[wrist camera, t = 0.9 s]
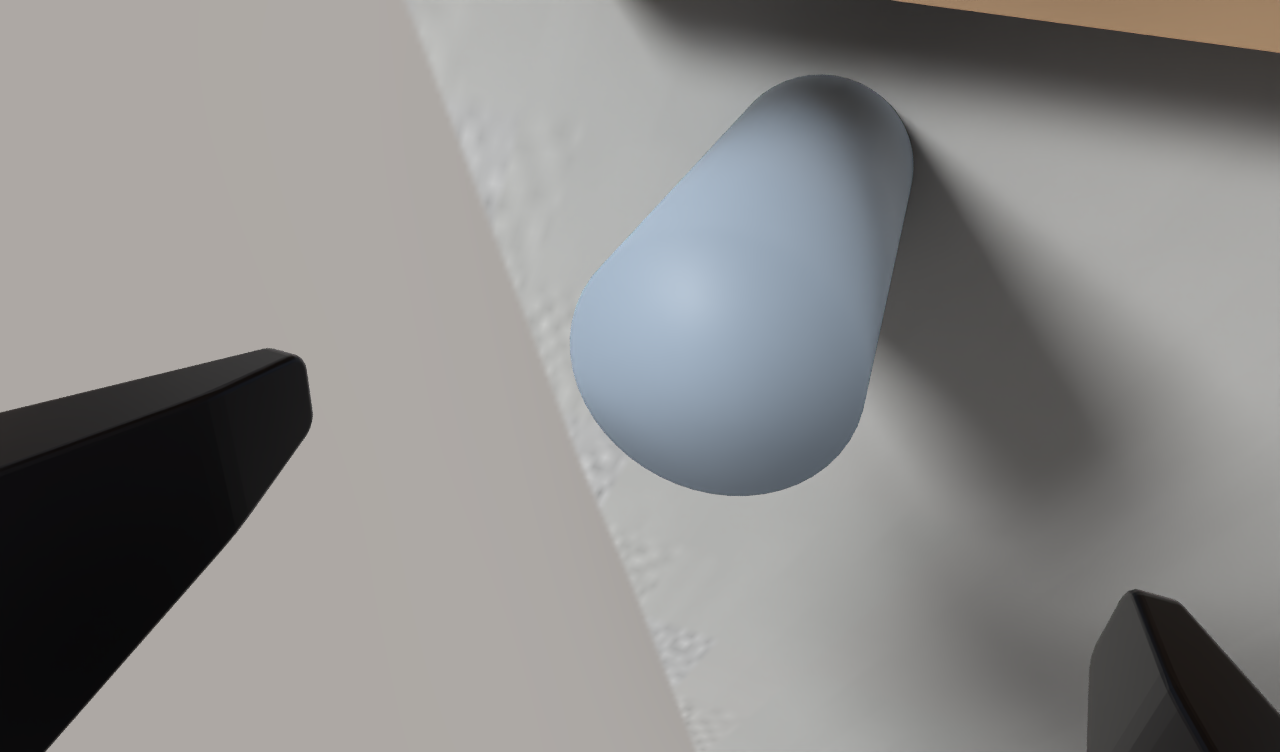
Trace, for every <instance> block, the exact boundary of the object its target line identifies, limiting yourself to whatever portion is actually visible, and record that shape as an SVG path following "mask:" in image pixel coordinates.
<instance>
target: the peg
mask: <svg viewBox="0 0 1280 752" xmlns="http://www.w3.org/2000/svg"><path fill="white" fill-rule="evenodd" d="M913 167H914V162H913V151H912V147H911V143H910V139H909V136H908V134H907V131H906V129H905V126H904V125H903V123H902V121H901V119H900V118H899V116H898V115H897V113H896V112H895V111H894V109H893V108H892V107H891V106H890V105H889V104H888V103H887V102H886V101H885V100H884V99H883V98H882V97H881V96H880V95H878V94H877V93H876V92H874V91H873V90H872V89H870V88H868V87H866V86H864V85H862V84H861V83H858V82H856V81H853V80H850V79H847V78H843V77H839V76H832V75H808V76H802V77H797V78H794V79H791V80H788V81H785V82H783V83H781V84H778V85H776V86H774V87H772V88H771V89H769V90H768V91H766V92H765V93H763V94H762V95H761V96H760V97H759V98H757V99H756V100H755V101H754V102H753V103H752V104H751V105H750V106H749V107H748V108H747V109H746V111H745V112H744V113H743V114H742V115H741V116H740V117H739V118H738V119H737V120H736V121H735V122H734V123H733V125H732V126H731V127H730V128H729V129H728V130H727V131H726V132H725V133H724V134H723V135H722V136H721V137H720V139H719V140H718V141H717V142H716V143H715V144H714V145H713V146H712V147H711V148H710V149H709V150H708V151H707V152H706V154H705V155H704V156H703V157H702V158H701V159H700V160H699V161H698V162H697V163H696V164H695V165H694V166H693V168H692V169H691V170H690V171H689V172H688V173H687V174H686V175H685V176H684V177H683V178H682V179H681V180H680V182H679V183H678V184H677V185H676V186H675V187H674V188H673V189H672V190H671V191H670V192H669V193H668V194H667V196H666V197H665V198H664V199H663V200H662V201H661V202H660V203H659V204H658V205H657V206H656V207H655V208H654V210H653V211H652V212H651V213H650V214H649V215H648V216H647V217H646V218H645V219H644V220H643V221H642V222H641V224H640V225H639V226H638V227H637V228H636V229H635V230H634V231H633V232H632V233H631V234H630V235H629V236H628V237H627V239H626V240H625V241H624V242H623V243H622V244H621V245H620V246H619V247H618V248H617V249H616V250H615V251H614V253H613V254H612V255H611V256H610V257H609V258H608V259H607V260H606V261H605V262H604V263H603V264H602V266H601V267H600V268H599V269H598V270H597V271H596V272H595V273H594V275H593V276H592V277H591V279H590V280H589V282H588V283H587V285H586V286H585V288H584V290H583V291H582V294H581V296H580V298H579V301H578V303H577V305H576V308H575V312H574V316H573V320H572V325H571V334H570V355H571V361H572V367H573V372H574V376H575V379H576V382H577V386H578V389H579V391H580V393H581V395H582V398H583V400H584V402H585V404H586V406H587V408H588V409H589V411H590V413H591V414H592V416H593V418H594V419H595V421H596V422H597V423H598V425H599V426H600V427H601V429H602V430H603V431H604V433H605V434H606V435H607V436H608V437H609V438H610V439H611V440H612V441H613V442H614V443H615V445H616V446H618V447H619V448H620V449H621V450H622V451H623V452H624V453H625V454H627V455H628V456H629V457H630V458H632V459H633V460H634V461H636V462H637V463H639V464H640V465H641V466H643V467H644V468H646V469H648V470H649V471H651V472H653V473H655V474H656V475H658V476H660V477H662V478H664V479H666V480H669V481H671V482H673V483H675V484H678V485H681V486H684V487H687V488H690V489H693V490H697V491H702V492H706V493H711V494H719V495H727V496H750V495H759V494H766V493H771V492H775V491H780V490H783V489H786V488H789V487H791V486H794V485H797V484H799V483H801V482H803V481H805V480H807V479H809V478H811V477H812V476H814V475H815V474H817V473H818V472H820V471H821V470H822V469H824V468H825V467H827V466H828V465H829V464H830V463H831V462H832V461H833V460H834V459H835V458H836V457H837V456H838V455H839V454H840V453H841V451H842V450H843V449H844V447H845V446H846V445H847V443H848V442H849V441H850V439H851V437H852V435H853V433H854V431H855V430H856V428H857V426H858V423H859V420H860V417H861V414H862V412H863V408H864V403H865V399H866V394H867V389H868V385H869V380H870V375H871V371H872V366H873V361H874V357H875V352H876V348H877V343H878V338H879V334H880V329H881V324H882V320H883V315H884V310H885V306H886V301H887V296H888V292H889V287H890V283H891V278H892V273H893V269H894V264H895V259H896V255H897V250H898V245H899V241H900V236H901V231H902V227H903V222H904V217H905V213H906V208H907V204H908V199H909V194H910V190H911V184H912V179H913Z"/></svg>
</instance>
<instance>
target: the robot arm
mask: <svg viewBox="0 0 1280 752" xmlns="http://www.w3.org/2000/svg"><path fill="white" fill-rule="evenodd" d="M312 417H313V412H312V404H311V397H310V390H309V383H308V376H307V369H306V365H305V363H304V362H303V360H302V359H301V358H300V357H298V356H297V355H294V354H291V353H287V352H284V351H280V350H276V349H270V348H266V349H261V350H257V351H253V352H248V353H244V354H240V355H237V356H232V357H228V358H224V359H220V360H215V361H211V362H208V363H203V364H199V365H195V366H191V367H187V368H182V369H178V370H174V371H170V372H166V373H162V374H158V375H154V376H149V377H145V378H141V379H137V380H133V381H129V382H125V383H120V384H116V385H112V386H108V387H104V388H100V389H96V390H92V391H87V392H83V393H79V394H75V395H71V396H67V397H63V398H59V399H55V400H50V401H46V402H42V403H38V404H34V405H30V406H25V407H21V408H17V409H13V410H9V411H5V412H1V413H0V752H46V750H47V749H48V748H49V747H50V746H51V745H52V744H53V742H54V741H55V740H56V739H57V738H58V737H59V736H60V734H61V733H62V732H63V731H64V730H65V728H67V726H68V725H69V724H70V723H71V722H72V720H74V718H75V717H76V716H77V715H78V714H79V713H80V711H81V710H82V709H83V708H84V707H85V706H86V705H87V704H88V702H89V701H90V700H91V699H92V698H93V697H94V696H95V694H96V693H97V692H98V691H99V690H100V689H101V688H102V686H103V685H104V684H105V683H106V682H107V681H108V680H109V678H110V677H111V676H112V675H113V674H114V672H116V670H117V669H118V668H119V667H120V666H121V665H122V663H123V662H124V661H125V660H126V659H127V658H128V657H129V656H130V654H131V653H132V652H133V651H134V650H135V649H136V648H137V646H138V645H139V644H140V643H141V642H142V641H143V640H144V639H145V637H146V636H147V635H148V634H149V633H150V632H151V631H152V629H153V628H154V627H155V626H156V625H157V624H158V623H159V621H160V620H161V619H162V618H163V617H164V616H165V615H166V613H167V612H168V611H169V610H170V609H171V608H172V607H173V605H174V604H175V603H176V602H177V601H178V600H179V599H180V597H181V596H182V595H183V594H184V593H185V592H186V590H187V589H188V588H189V587H190V586H191V585H192V584H193V583H194V581H195V580H196V579H197V578H198V577H199V575H201V573H202V572H203V571H204V570H205V569H206V568H207V566H208V565H209V564H210V563H211V562H212V561H213V560H214V559H215V557H216V556H217V555H218V554H219V553H220V552H221V551H222V549H223V548H224V547H225V546H226V545H227V543H228V542H229V541H230V540H231V539H232V537H233V536H234V535H235V534H236V533H237V531H238V530H239V529H240V527H241V526H242V525H243V523H244V522H245V521H246V519H247V518H248V517H249V515H250V514H251V513H252V511H253V510H254V508H255V507H256V506H257V504H258V503H259V501H260V500H261V498H262V497H263V496H264V494H265V493H266V491H267V490H268V489H269V487H270V486H271V484H272V483H273V481H274V480H275V479H276V477H277V476H278V475H279V473H280V472H281V470H282V469H283V467H284V466H285V464H286V463H287V462H288V461H289V459H290V458H291V456H292V455H293V454H294V452H295V451H296V449H297V448H298V446H299V445H300V444H301V442H302V441H303V439H304V438H305V437H306V435H307V433H308V431H309V429H310V426H311V423H312ZM1087 752H1280V714H1279V713H1278V712H1277V711H1276V709H1275V708H1274V707H1273V706H1272V705H1271V704H1270V703H1269V702H1268V700H1267V699H1266V698H1265V697H1264V696H1263V695H1262V694H1261V693H1260V691H1259V690H1258V689H1257V688H1256V687H1255V686H1254V685H1253V684H1252V682H1251V681H1250V680H1249V679H1248V678H1247V677H1246V676H1245V675H1244V673H1243V672H1242V671H1241V670H1240V669H1239V668H1238V667H1237V666H1236V664H1235V663H1234V662H1233V661H1232V660H1231V659H1230V658H1229V657H1228V655H1227V654H1226V653H1225V652H1224V651H1223V650H1222V649H1221V648H1220V646H1219V645H1218V644H1217V643H1216V642H1215V641H1214V640H1213V639H1212V638H1211V636H1210V635H1209V634H1208V633H1207V632H1206V631H1205V630H1204V629H1203V627H1202V626H1201V625H1200V624H1199V623H1198V622H1197V621H1196V620H1195V618H1194V617H1193V616H1192V615H1191V614H1190V613H1189V612H1188V611H1187V609H1186V608H1185V607H1184V606H1183V605H1182V604H1180V603H1179V602H1178V601H1176V600H1174V599H1171V598H1167V597H1163V596H1160V595H1156V594H1153V593H1149V592H1145V591H1142V590H1138V589H1134V590H1131V591H1128V592H1127V593H1126V594H1125V595H1124V596H1123V597H1122V598H1121V600H1120V601H1119V603H1118V605H1117V607H1116V609H1115V610H1114V612H1113V614H1112V616H1111V618H1110V620H1109V621H1108V623H1107V625H1106V627H1105V629H1104V631H1103V632H1102V634H1101V636H1100V638H1099V640H1098V642H1097V643H1096V646H1095V648H1094V650H1093V653H1092V657H1091V662H1090V669H1089V695H1088V728H1087Z"/></svg>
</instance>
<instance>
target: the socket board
mask: <svg viewBox="0 0 1280 752" xmlns="http://www.w3.org/2000/svg"><path fill="white" fill-rule="evenodd" d="M893 1H901V2H908V3H915V4H923V5H930V6H938V7H945V8H952V9H960V10H967V11H975V12H982V13H989V14H997V15H1004V16H1011V17H1019V18H1026V19H1034V20H1041V21H1048V22H1056V23H1063V24H1071V25H1078V26H1085V27H1093V28H1100V29H1107V30H1115V31H1122V32H1130V33H1137V34H1144V35H1152V36H1159V37H1167V38H1174V39H1181V40H1189V41H1196V42H1204V43H1211V44H1218V45H1226V46H1233V47H1240V48H1248V49H1255V50H1263V51H1270V52H1277V53H1280V0H893Z"/></svg>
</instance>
